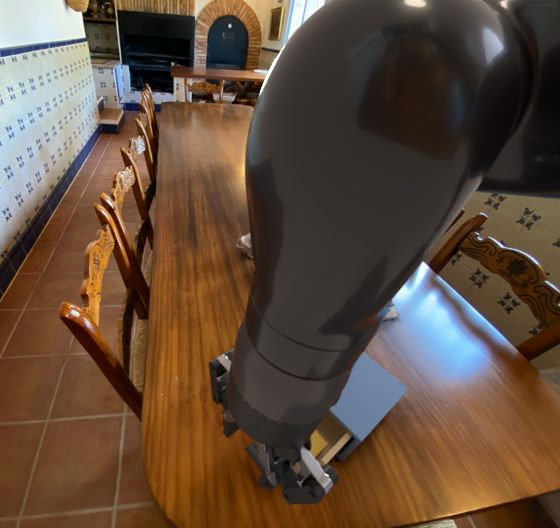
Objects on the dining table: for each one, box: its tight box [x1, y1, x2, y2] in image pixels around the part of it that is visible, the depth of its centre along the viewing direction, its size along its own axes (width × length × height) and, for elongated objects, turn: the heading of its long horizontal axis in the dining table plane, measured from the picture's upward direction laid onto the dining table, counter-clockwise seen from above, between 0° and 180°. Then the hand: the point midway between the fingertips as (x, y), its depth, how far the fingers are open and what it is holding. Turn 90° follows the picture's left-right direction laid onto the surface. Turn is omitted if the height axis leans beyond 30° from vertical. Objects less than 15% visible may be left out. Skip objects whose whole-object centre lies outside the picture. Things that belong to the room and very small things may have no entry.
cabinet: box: [328, 351, 409, 463], centre depth 54 cm, size 15×14×9 cm
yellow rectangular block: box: [310, 430, 328, 458], centre depth 49 cm, size 8×4×3 cm, turn 37°
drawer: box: [245, 412, 352, 474], centre depth 48 cm, size 18×12×7 cm
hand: (248, 453), depth 32 cm, fingers open, 5 cm apart
